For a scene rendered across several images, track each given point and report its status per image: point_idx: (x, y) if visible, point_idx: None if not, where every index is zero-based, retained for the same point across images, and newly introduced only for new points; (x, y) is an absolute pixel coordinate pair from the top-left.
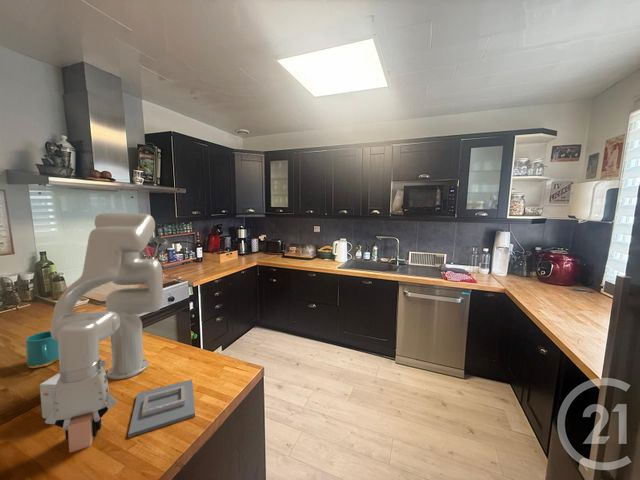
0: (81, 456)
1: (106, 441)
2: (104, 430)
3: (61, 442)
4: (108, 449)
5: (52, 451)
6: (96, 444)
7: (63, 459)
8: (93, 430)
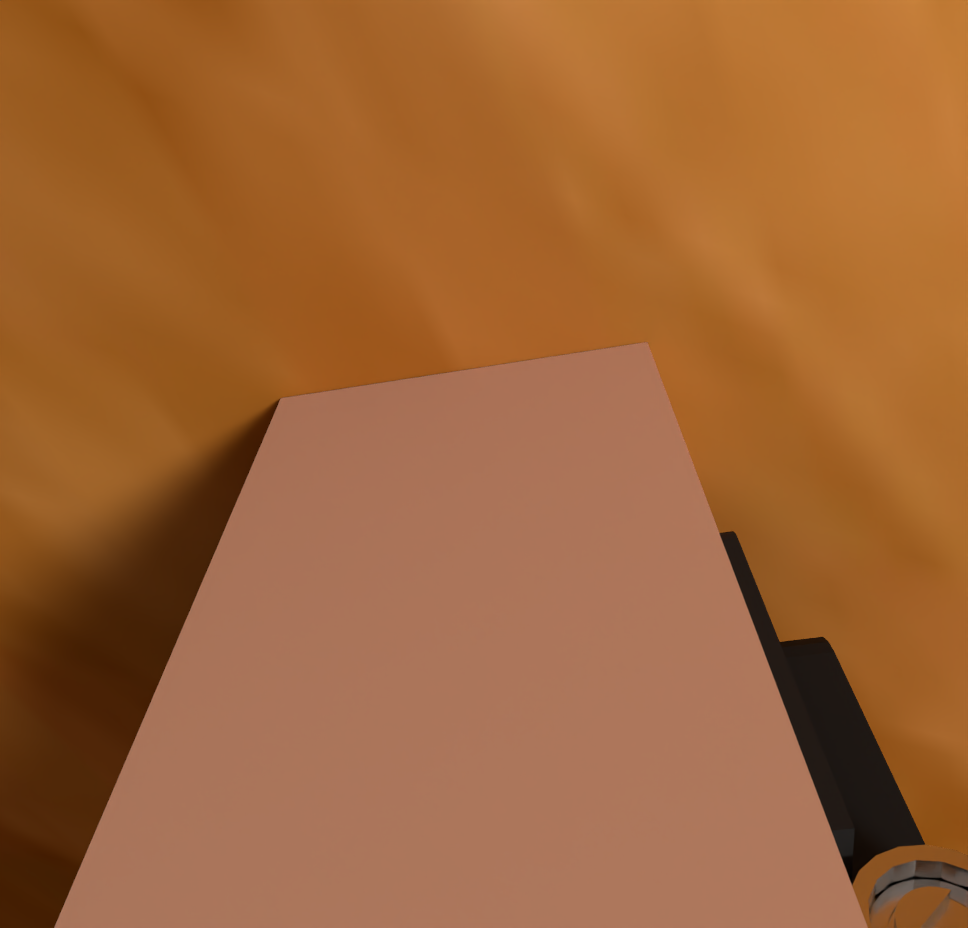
0: None
1: (913, 771)
2: (826, 516)
3: (109, 587)
4: None
5: (109, 732)
6: None
7: None
8: None
